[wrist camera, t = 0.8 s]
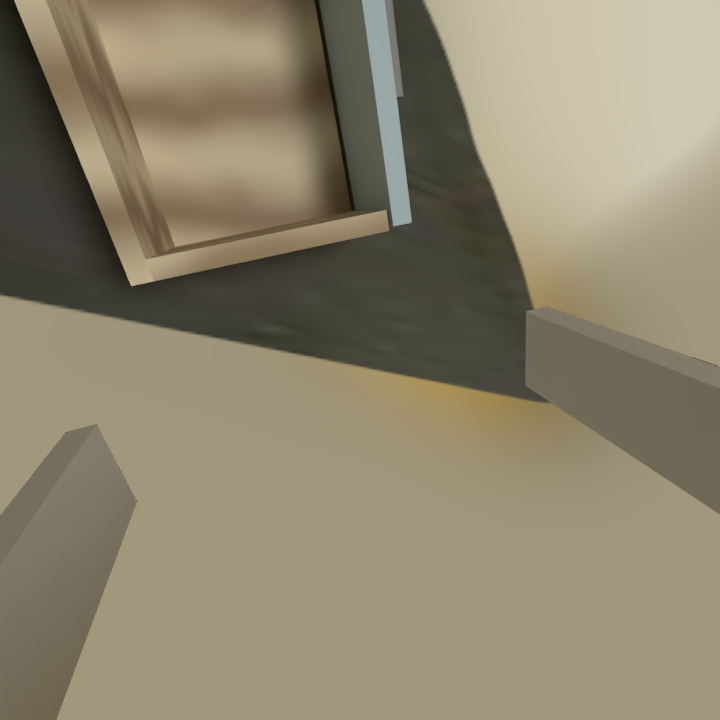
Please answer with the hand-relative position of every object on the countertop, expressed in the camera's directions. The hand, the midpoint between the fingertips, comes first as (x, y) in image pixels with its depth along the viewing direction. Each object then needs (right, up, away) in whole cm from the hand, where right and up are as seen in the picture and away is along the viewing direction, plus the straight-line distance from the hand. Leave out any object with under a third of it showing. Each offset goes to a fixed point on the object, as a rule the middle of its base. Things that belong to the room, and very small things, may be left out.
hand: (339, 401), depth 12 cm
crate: (-9, +20, +17) cm, 28 cm away
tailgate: (-1, +22, +16) cm, 27 cm away
